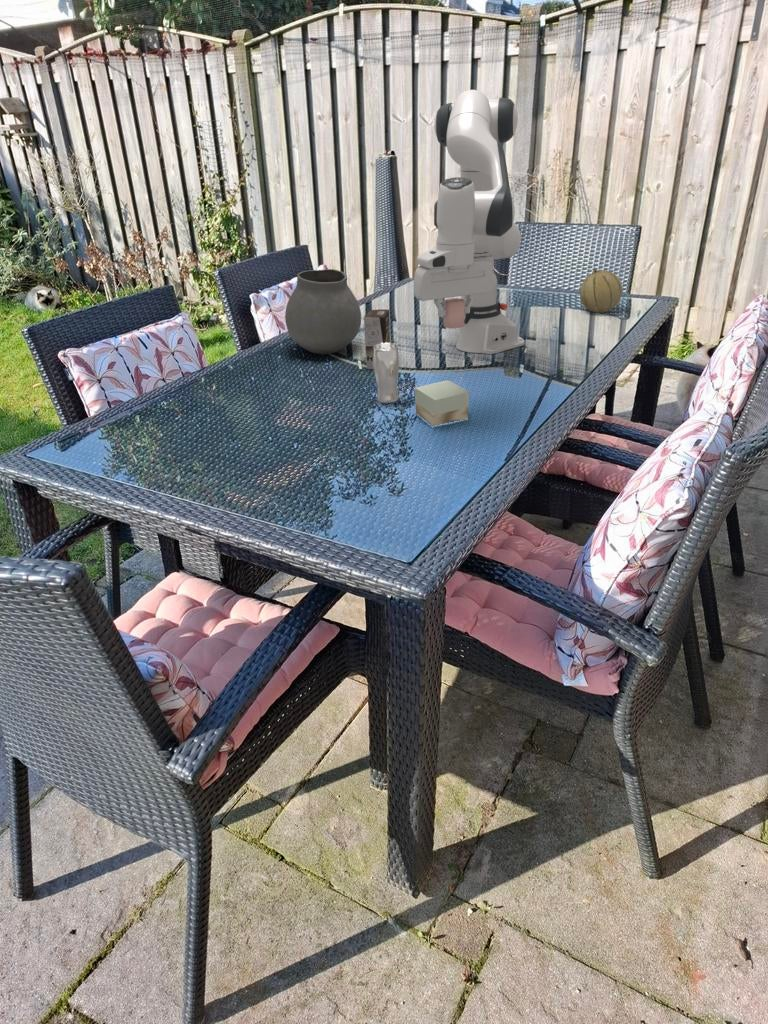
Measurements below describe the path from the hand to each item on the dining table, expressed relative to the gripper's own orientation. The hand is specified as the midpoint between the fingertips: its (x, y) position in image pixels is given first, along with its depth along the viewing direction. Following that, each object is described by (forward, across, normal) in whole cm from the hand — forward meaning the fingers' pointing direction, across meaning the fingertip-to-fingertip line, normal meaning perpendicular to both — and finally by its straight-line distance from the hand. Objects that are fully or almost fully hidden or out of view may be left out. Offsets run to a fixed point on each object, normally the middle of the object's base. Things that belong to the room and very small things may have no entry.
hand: (453, 314), depth 170 cm
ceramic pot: (+25, +12, -67) cm, 72 cm away
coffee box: (+25, +2, -45) cm, 51 cm away
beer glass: (+26, +11, -17) cm, 33 cm away
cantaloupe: (+23, -91, -57) cm, 110 cm away
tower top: (+22, +4, +1) cm, 22 cm away
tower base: (+26, +4, +1) cm, 26 cm away
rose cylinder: (+3, 0, 0) cm, 3 cm away
